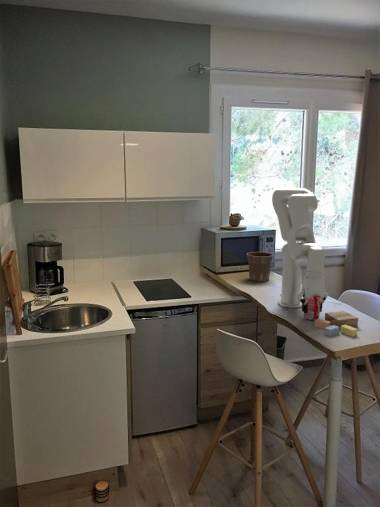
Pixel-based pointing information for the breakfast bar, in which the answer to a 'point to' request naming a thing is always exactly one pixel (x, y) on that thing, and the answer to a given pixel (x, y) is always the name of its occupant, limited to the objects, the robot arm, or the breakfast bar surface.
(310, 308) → the soda can
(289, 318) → the breakfast bar surface
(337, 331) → the slate brick
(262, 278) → the plant pot
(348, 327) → the mustard brick
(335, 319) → the tan flat block
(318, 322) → the terracotta brick
